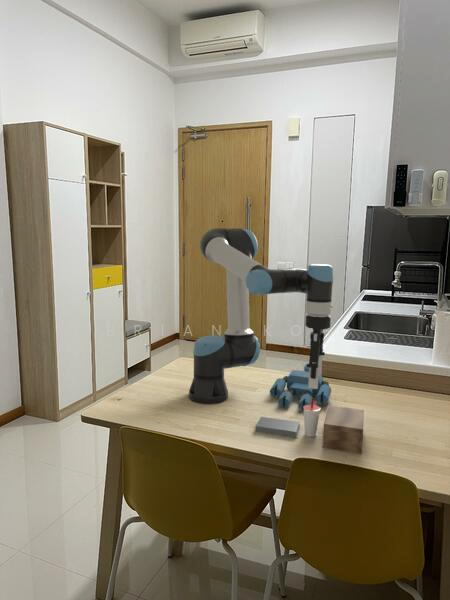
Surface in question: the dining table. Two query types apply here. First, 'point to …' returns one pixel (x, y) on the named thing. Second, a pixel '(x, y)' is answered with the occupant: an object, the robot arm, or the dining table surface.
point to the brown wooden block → (343, 429)
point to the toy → (300, 389)
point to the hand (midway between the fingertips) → (315, 381)
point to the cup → (311, 419)
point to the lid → (278, 427)
